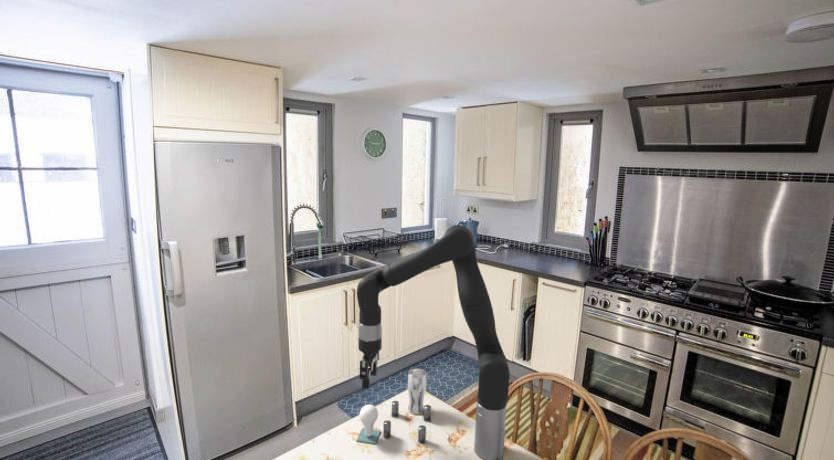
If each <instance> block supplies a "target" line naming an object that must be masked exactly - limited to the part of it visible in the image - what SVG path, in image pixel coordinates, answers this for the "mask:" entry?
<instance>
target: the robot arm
mask: <svg viewBox="0 0 834 460" xmlns="http://www.w3.org/2000/svg"><path fill="white" fill-rule="evenodd" d="M451 261H452V264H453V267H454V270H455V271H454V272H455V276H456V277H455V278H456V285H457V286H456V287H457V293H458V299H459V303H460V307H461V311H462V315H463V317H464V319H465V322H466V324H467V327H468V328H469V329H468V330H470V332H471V334H472V336H473V339H474V342H475V347H476V353H477V358H478V359H477V361H478V385H477V386H478V387H477V389H478V390H477V393H476V411H475V412H476V413H475V427H474V428H475V432H474V443H473V445H474V448H473V449H474V453H475V455H477V457H479V458H481V459H483V460H497V459H498V460H503V459H504V453H505V440H506V439H505V437H506V436H505V435H506V417H507V415H506V414H507V402H508V399H509V389H510V378H511V375H510V373H511V372H510V367H509V364H508V363H509V362H508V360H507V357H506V355H505V353H504V350H503V348H502V346H501V343H500V341H499V337H498V333H497V328H496V319H495V314H494V310H493V309H494V308H493V305H492V302H491V299H490V294H489V292H488V288H487V286H486V283H485V280H484V278H483V275H482V273H481V270H480V267H479V264H478V260H477V255H476V249H475V241H474V236H473V233H472V232H471V230H470V229H469V228H468V227H467V226H464V225H463V224H454V225H452V226H450V227H449V228H448V229H447V230H446V231H445V233H444V235H443V236H442V237H440V238H439V239H438V240H436V241H435V242H434V243H432V244H431V245H429V246H426V247H425V248H423V249H422V250H421V249H420V250H419V251H415V252H414V253H410V254H408V255H405V256H403V257H401V258H399V259H396V260H395V261H392V262H390V263H389V264H387V265H386V266H384V267H382V268H380V269H377V270H374V271H372V272H370V273H368V274H366V275H365V276H364V277H363V278H362V279H361V280H360V281H359V282H358V284H357V288H356V297H357V303H358V309H359V313H358V315H359V317H358V318H359V319H358V320H359V322H358V323H359V324H358V338H357V339H358V344H357V345H358V346H357V347H358V348H357V349H358V350H359V352H361V353H362V354H363V355H362V359H360V361H359V379H360V380H361V382H362V383H361V385H362V388H361V389H362V390H369V389H370V377H371V376H374V377H376V376H377V373H378V364H379V360H380V351H381V350H382V344H383V343H382V340H383V337H382V336H383V335H382V333H383V331H382V330H383V329H382V327H383V326H382V307H381V305H380V304H379V295H380V293H381V292H382V291H384V290H386V289H388V288H391V287H395V286H399V285H401V284H403V283H405V282H407V281H408V280H411V279H412V278H415V277H416V276H418V275H420V274H422V273H424V272H426V271H429V270H431V269H432V268H435V267H436V266H441V265H442V264H445V263H448V262H451ZM500 458H501V459H500ZM502 458H503V459H502Z"/></svg>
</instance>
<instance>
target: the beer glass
mask: <svg viewBox="0 0 834 460" xmlns="http://www.w3.org/2000/svg"><path fill="white" fill-rule="evenodd" d="M426 390H427V372H426V370H424V369H422V368H412V369H410V370H409V371H408V374H407V392H408V397H409V398H408V400H409V402H408V407H407V410H408V412H409V413H410V414H412V415H421V414H424V406H425V405H424V399H425V395H426Z"/></svg>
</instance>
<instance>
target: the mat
mask: <svg viewBox="0 0 834 460" xmlns="http://www.w3.org/2000/svg"><path fill="white" fill-rule="evenodd" d="M380 434H381V430H378V429H373V433H372V435H371V436H369V437H368V436H366V435H365V430H364V427H362V428H361V430H360V433H359V434H358V437H357V438H356V442H359V443H365V444H371V445H376V444H377V441H378V439H379V437H380Z"/></svg>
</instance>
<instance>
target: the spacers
mask: <svg viewBox="0 0 834 460" xmlns="http://www.w3.org/2000/svg"><path fill="white" fill-rule="evenodd" d="M399 406H400V403H399V401H397V400H392V402H391V417H393V418H398V417H399V412H400V411H399V408H400V407H399ZM431 419H432V406H431V405H430V404H425V405H424V412H423V421H424V422H427V423H428V422H431ZM382 429H383V430H382V431H383V438H384V439H386V440H387V439H390V438H391V437H392V434H391V433H392V432H391V431H392V422H391V420H384V421H383V428H382ZM417 430H418V431H417V436H418V437H417V442H418V443H419V444H421V445H423V444H426V438H427V427H426V425H421V424H420V425H419V426H418V429H417Z"/></svg>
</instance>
